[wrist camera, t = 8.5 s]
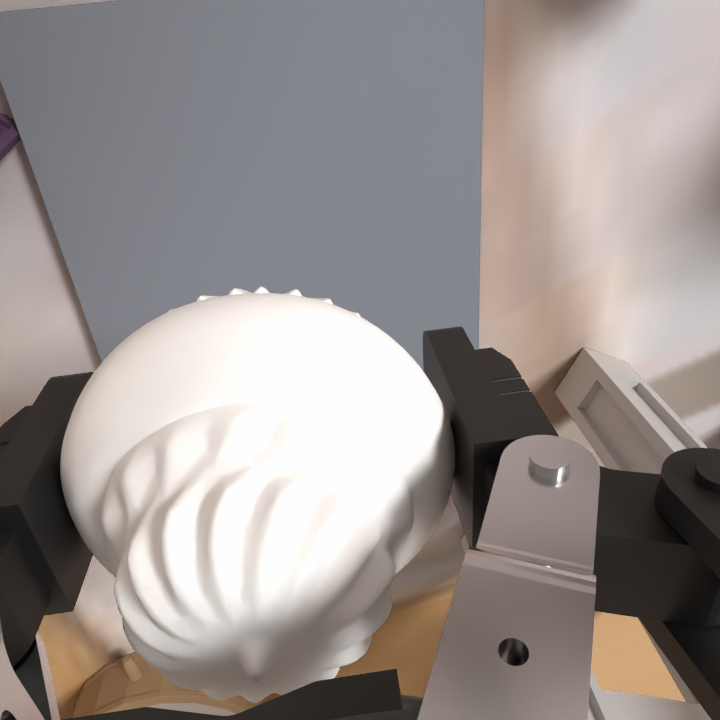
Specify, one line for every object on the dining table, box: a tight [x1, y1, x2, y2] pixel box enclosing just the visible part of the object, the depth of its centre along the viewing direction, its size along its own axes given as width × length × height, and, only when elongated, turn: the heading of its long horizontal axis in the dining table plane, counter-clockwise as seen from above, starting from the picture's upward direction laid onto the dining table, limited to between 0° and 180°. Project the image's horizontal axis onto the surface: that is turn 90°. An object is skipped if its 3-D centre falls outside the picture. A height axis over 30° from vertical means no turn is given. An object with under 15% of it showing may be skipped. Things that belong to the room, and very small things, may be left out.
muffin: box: [60, 286, 455, 703], centre depth 10 cm, size 6×6×7 cm
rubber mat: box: [0, 0, 484, 372], centre depth 20 cm, size 14×14×1 cm
